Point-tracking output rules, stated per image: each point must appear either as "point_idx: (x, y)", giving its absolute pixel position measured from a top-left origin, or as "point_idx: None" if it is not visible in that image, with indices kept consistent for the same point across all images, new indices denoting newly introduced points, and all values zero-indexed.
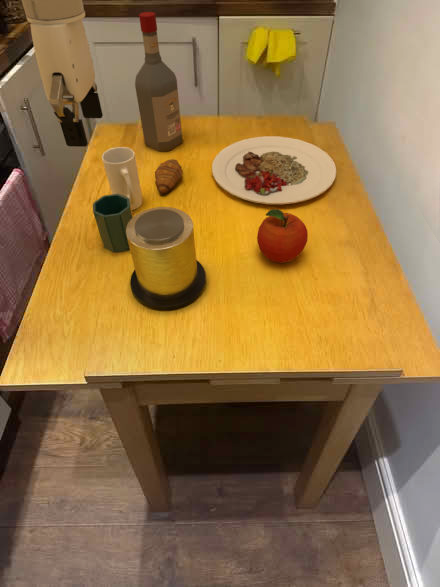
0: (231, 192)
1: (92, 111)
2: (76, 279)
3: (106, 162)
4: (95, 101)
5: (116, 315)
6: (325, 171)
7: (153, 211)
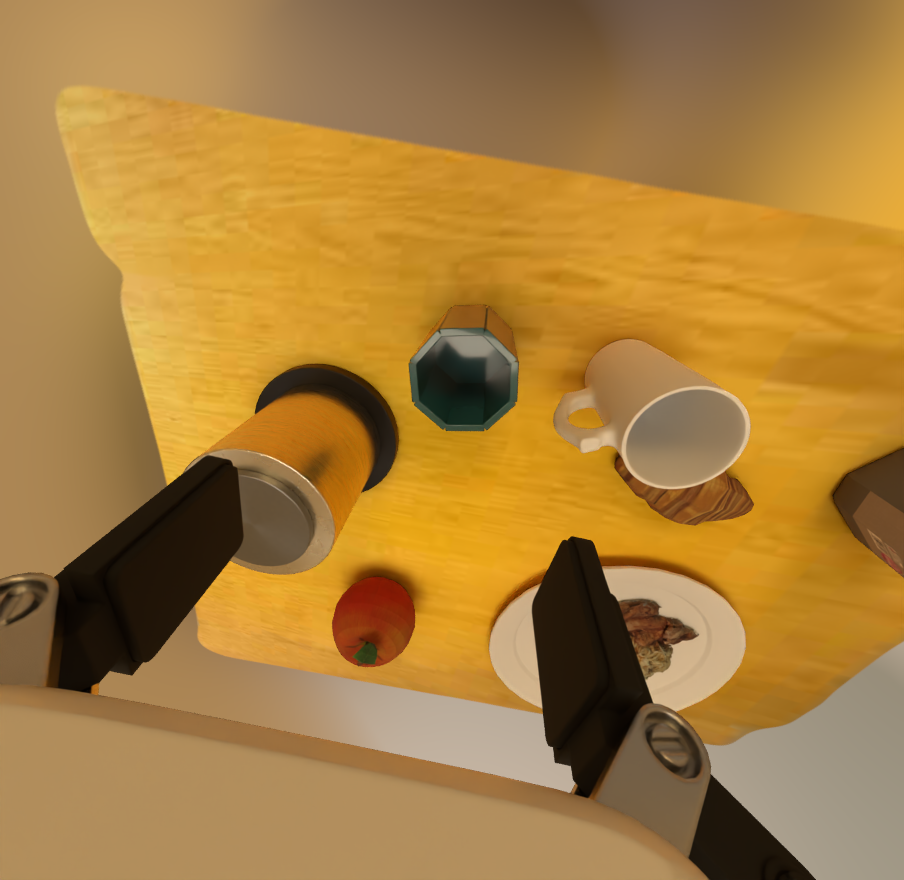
0: None
1: (548, 611)
2: (348, 235)
3: (652, 400)
4: (546, 694)
5: (245, 331)
6: None
7: (300, 519)
